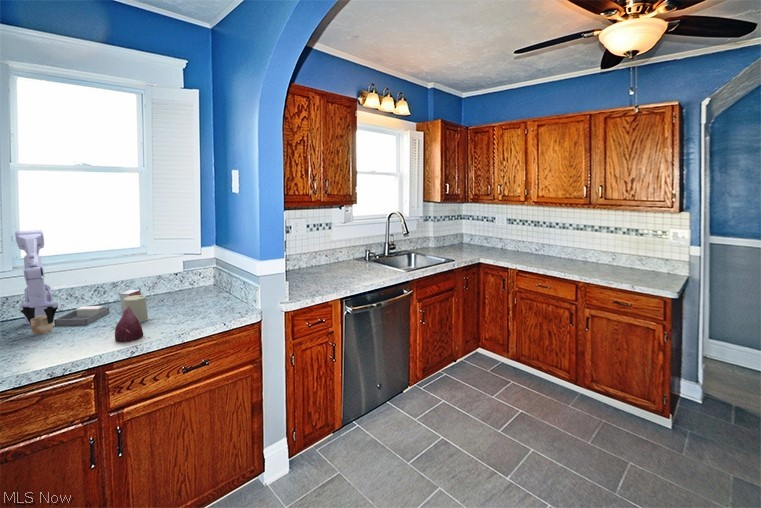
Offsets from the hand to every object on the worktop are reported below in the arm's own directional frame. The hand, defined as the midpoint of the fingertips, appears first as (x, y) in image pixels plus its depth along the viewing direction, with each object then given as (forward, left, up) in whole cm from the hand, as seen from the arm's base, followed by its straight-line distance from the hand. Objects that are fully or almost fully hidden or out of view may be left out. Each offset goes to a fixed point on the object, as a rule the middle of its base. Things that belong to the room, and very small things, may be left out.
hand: (41, 323), depth 177 cm
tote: (+8, +15, -4) cm, 18 cm away
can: (+34, +13, -4) cm, 37 cm away
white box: (+8, +21, -4) cm, 22 cm away
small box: (+24, +28, -4) cm, 37 cm away
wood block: (0, 0, -4) cm, 4 cm away
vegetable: (+42, -10, -5) cm, 43 cm away
